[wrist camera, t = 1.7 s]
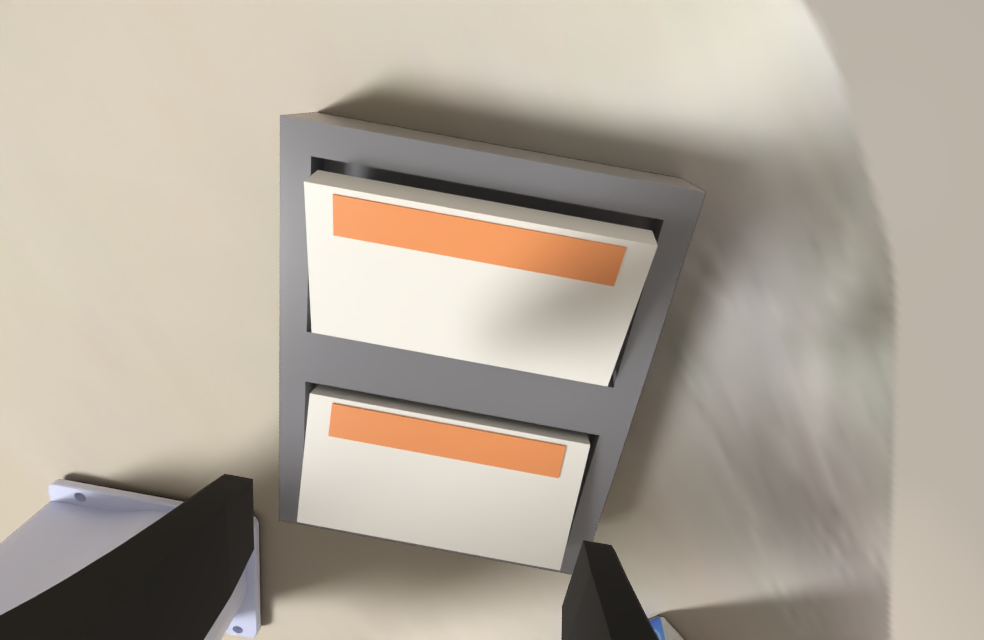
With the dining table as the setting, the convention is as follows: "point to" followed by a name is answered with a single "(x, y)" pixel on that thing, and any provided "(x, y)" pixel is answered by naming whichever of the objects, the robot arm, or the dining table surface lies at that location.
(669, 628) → the medicine box
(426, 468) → the orange-striped cream panel
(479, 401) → the grey divided tray
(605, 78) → the dining table surface
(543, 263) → the rocker
